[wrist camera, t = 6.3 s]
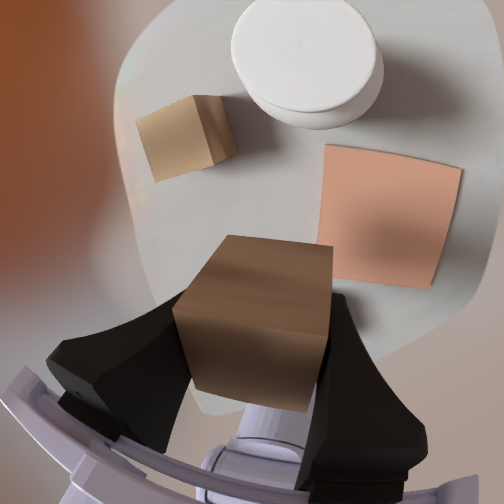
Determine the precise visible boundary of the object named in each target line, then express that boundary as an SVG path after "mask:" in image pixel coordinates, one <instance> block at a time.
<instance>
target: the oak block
mask: <svg viewBox="0 0 504 504" xmlns="http://www.w3.org/2000/svg"><path fill="white" fill-rule="evenodd" d="M136 125H137V128H138V131H139V134H140V138H141V141H142V144H143V147H144V150H145V153H146V156H147V159H148V162H149V165H150V168H151V171H152V174H153V177H154V180H155V183H156V182H159V181H162V180H166V179H169V178H172V177H175V176H179V175H182V174H185V173H189V172H192V171H196V170H199V169H203V168H207V167H210V166H214V165H216V164H218V163H220V162H221V161H223V160H225V159H227V158H229V157H231V156H233V155H235V154H236V153H237V149H236V146H235V142H234V139H233V135H232V132H231V129H230V125H229V122H228V118H227V115H226V112H225V108H224V105H223V101H222V98H221V96H209V95H192V96H189V97H187V98H184V99H182V100H180V101H177V102H175V103H172V104H170V105H168V106H166V107H163V108H161V109H159V110H157V111H155V112H153V113H151V114H148V115H146V116H144V117H142V118H140V119H138V120H136Z"/></svg>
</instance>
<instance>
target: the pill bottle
mask: <svg viewBox="0 0 504 504" xmlns="http://www.w3.org/2000/svg"><path fill="white" fill-rule="evenodd" d="M231 54H232V60H233V63H234V66H235V68H236V70H237V73H238V75H239V76H240V78H241V79H242V81H243V84H244V86H245V88H246V90H247V91H248V93H249V95H250V96H251V98H252V99H253V100H254V101H255V102H256V104H257V105H258V106H259V107H260V108H261V109H263V110H264V111H265V112H266V113H268V114H269V115H270V116H272V117H274V118H275V119H277V120H279V121H281V122H283V123H286V124H289V125H291V126H295V127H299V128H304V129H313V130H322V129H332V128H337V127H340V126H343V125H346V124H348V123H351V122H352V121H354V120H356V119H357V118H359V117H360V116H362V115H363V114H364V113H365V112H366V111H367V110H368V109H369V108H370V107H371V106H372V104H373V103H374V101H375V100H376V98H377V96H378V94H379V92H380V90H381V86H382V83H383V78H384V63H383V57H382V53H381V51H380V48H379V45H378V43H377V41H376V39H375V37H374V35H373V32H372V30H371V28H370V26H369V24H368V22H367V21H366V19H365V18H364V17H363V15H362V14H361V13H360V12H359V11H358V10H357V9H356V8H355V7H354V6H352V5H351V4H350V3H348V2H347V1H345V0H257V1H255V2H254V3H252V4H251V5H250V6H249V7H248V8H247V9H246V10H245V11H244V13H243V14H242V15H241V17H240V18H239V20H238V22H237V24H236V26H235V28H234V32H233V35H232V38H231Z"/></svg>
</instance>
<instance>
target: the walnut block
mask: <svg viewBox="0 0 504 504" xmlns="http://www.w3.org/2000/svg"><path fill="white" fill-rule="evenodd" d="M333 247H334V246H327V245H318V244H309V243H301V242H292V241H283V240H274V239H265V238H255V237H246V236H236V235H227V237H226V238H225V239H224V241H223V242H222V243H221V244H220V246H219V247H218V248H217V250H216V251H215V252H214V253H213V255H212V256H211V257H210V259H209V260H208V261H207V263H206V264H205V265H204V267H203V268H202V269H201V271H200V272H199V273H198V274H197V276H196V277H195V278H194V280H193V281H192V282H191V284H190V285H189V286H188V288H187V289H186V290H185V292H184V293H183V294H182V296H181V297H180V298H179V300H178V301H177V303H176V304H175V305H174V307H173V308H172V311H173V315H174V318H175V322H176V326H177V329H178V333H179V336H180V340H181V343H182V347H183V350H184V353H185V357H186V360H187V363H188V366H189V370H190V373H191V376H192V379H193V382H194V385H195V388H196V389H197V390H200V391H203V392H207V393H211V394H214V395H218V396H222V397H226V398H230V399H234V400H238V401H242V402H247V403H251V404H256V405H261V406H266V407H271V408H276V409H282V410H288V411H294V412H301V413H307V411H308V407H309V404H310V401H311V398H312V394H313V391H314V388H315V384H316V381H317V377H318V374H319V370H320V366H321V363H322V359H323V355H324V351H325V347H326V343H327V339H328V332H329V321H330V308H331V293H332V274H333Z"/></svg>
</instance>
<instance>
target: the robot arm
mask: <svg viewBox="0 0 504 504" xmlns="http://www.w3.org/2000/svg"><path fill="white" fill-rule="evenodd" d="M185 290H186V289H185ZM185 290H184V291H182V292H181V293H179V294H178V295H176V296H175V297H173V298H172V299H170V300H168V301H167V302H165V303H163V304H162V305H160V306H158V307H157V308H155V309H153V310H152V311H150V312H148V313H146V314H145V315H142V316H140V317H138V318H136V319H134V320H132V321H129V322H127V323H125V324H122V325H119V326H117V327H114V328H112V329H109V330H106V331H103V332H100V333H96V334H92V335H89V336H84V337H79V338H74V339H69V340H63V341H62V342H61V343H60V344H59V346H58V347H57V348H56V349H55V350H54V351H53V352H52V354H51V355H50V356H49V357H48V358H47V359H46V363H47V366H48V368H49V370H50V371H51V372H52V374H53V375H54V377H55V378H56V379H57V380H58V382H59V383H60V384H61V385H62V387H63V388H64V389H65V390H66V392H65V393H64V394H63V395H62V397H60V396H58V395H57V394H55V393H54V392H53V391H51V390H50V389H49V388H47V386H46V384H45V383H44V382H43V381H42V380H41V378H40V377H39V376H38V375H36V374H35V373H34V372H33V371H32V370H31V369H29V368H28V367H27V366H24V367H23V368H22V369H21V371H20V372H19V373H18V374H17V375H16V377H15V378H14V379H13V380H12V381H11V383H10V384H9V385H8V386H7V388H6V389H5V390H4V391H3V393H2V394H1V395H0V401H1V402H2V403H3V404H4V406H5V407H6V408H7V409H8V410H9V411H10V413H11V414H12V415H13V416H14V417H15V418H16V420H17V421H18V422H19V423H20V424H21V425H22V426H23V427H24V429H25V430H26V431H27V432H28V433H29V434H30V435H31V436H32V437H33V438H34V440H35V441H36V442H37V443H38V444H39V445H40V446H41V447H42V448H43V449H44V450H45V451H46V452H47V453H48V454H49V455H51V456H52V457H53V458H54V459H55V460H56V461H57V462H58V463H59V464H60V465H61V466H63V467H64V468H65V469H66V470H67V471H69V472H70V473H71V475H70V480H71V484H70V486H69V488H68V489H67V491H66V492H65V494H64V496H63V498H62V499H61V501H60V503H59V504H478V494H479V491H478V490H479V488H478V487H479V486H478V485H479V484H478V475H477V474H475V475H472V476H468V477H464V478H460V479H455V480H452V481H449V482H447V483H444V484H442V485H441V486H439V487H437V488H431V489H426V490H418V491H410V492H403V490H404V481H407V479H408V470H410V469H411V468H413V467H414V466H416V465H417V464H419V463H420V462H421V461H422V460H424V459H425V458H426V456H427V454H428V443H427V436H426V431H425V426H424V425H423V424H422V423H421V422H420V421H419V420H418V419H417V418H416V417H415V416H414V415H413V414H412V413H411V412H410V411H409V410H408V409H407V408H406V407H405V405H404V404H403V403H402V402H401V401H400V400H399V398H398V397H397V396H396V395H395V393H394V392H393V391H392V389H391V388H390V387H389V385H388V384H387V383H386V381H385V380H384V379H383V377H382V376H381V374H380V373H379V371H378V369H377V368H376V366H375V365H374V363H373V361H372V359H371V358H370V356H369V354H368V352H367V350H366V348H365V346H364V344H363V342H362V340H361V338H360V336H359V334H358V332H357V329H356V327H355V325H354V322H353V320H352V317H351V314H350V312H349V309H348V306H347V303H346V299H345V296H344V295H343V294H335V293H331V308H330V321H329V332H328V339H327V343H326V347H325V351H324V355H323V359H322V363H321V366H320V370H319V374H318V377H317V381H316V384H315V388H314V391H313V394H312V398H311V401H310V404H309V407H308V411H307V413H301V412H294V411H288V410H282V409H276V408H271V407H266V406H261V405H256V404H251V403H247V406H246V409H245V412H244V414H243V417H242V420H241V423H240V425H239V428H238V431H237V434H236V437H235V438H231V437H230V438H229V440H228V443H227V445H219V446H217V447H216V448H214V449H212V450H211V451H210V452H209V453H208V455H207V456H206V458H205V459H204V461H203V463H202V465H201V468H198V467H194V466H192V465H189V464H186V463H184V462H181V461H178V460H176V459H173V458H171V457H168V456H166V455H163V454H164V453H166V449H167V446H168V442H169V439H170V435H171V432H172V429H173V425H174V423H175V420H176V417H177V414H178V411H179V408H180V405H181V403H182V400H183V398H184V395H185V392H186V390H187V388H188V385H189V383H190V380H191V378H192V376H191V373H190V370H189V366H188V363H187V360H186V357H185V353H184V350H183V347H182V343H181V340H180V336H179V333H178V329H177V326H176V322H175V318H174V315H173V311H172V308H173V307H174V305H175V304H176V303H177V301H178V300H179V298H180V297H181V296H182V294H183V293H184V292H185ZM110 447H111V448H112V449H114V450H116V451H118V452H120V453H122V454H123V455H125V456H127V457H129V458H131V459H133V460H135V461H137V462H139V463H141V464H143V465H145V466H147V467H149V468H151V469H154V470H156V471H158V472H160V473H163V474H165V475H167V476H170V477H172V478H175V479H177V480H180V481H182V482H185V483H188V484H191V485H193V486H196V499H193V498H190V497H188V496H185V495H182V494H180V493H177V492H174V491H172V490H170V489H168V488H165V487H162V486H160V485H158V484H156V483H154V482H152V481H149V480H147V479H145V478H146V476H147V475H146V473H144V472H143V471H141V470H139V469H138V468H136V467H135V466H134V465H132V464H131V463H129V462H128V461H127V460H126V459H125V458H123V457H122V456H120V455H118V454H117V453H115V452H114V451H112V450H111V448H110Z"/></svg>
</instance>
